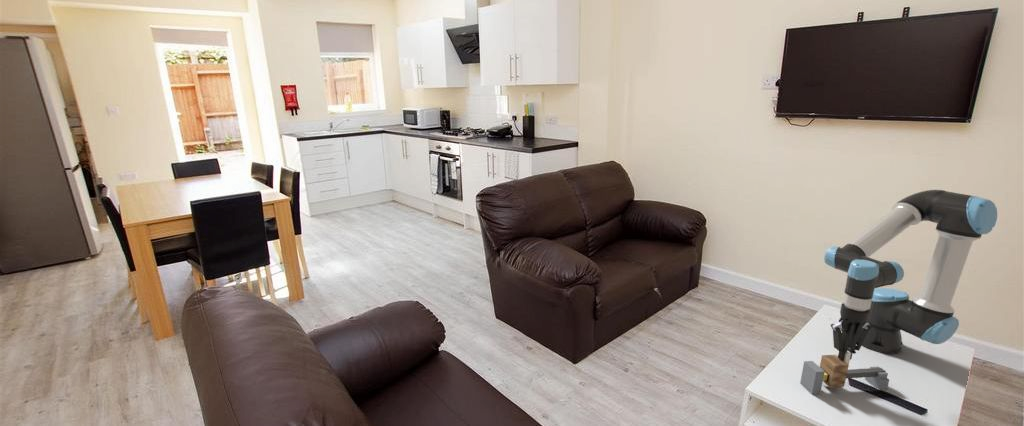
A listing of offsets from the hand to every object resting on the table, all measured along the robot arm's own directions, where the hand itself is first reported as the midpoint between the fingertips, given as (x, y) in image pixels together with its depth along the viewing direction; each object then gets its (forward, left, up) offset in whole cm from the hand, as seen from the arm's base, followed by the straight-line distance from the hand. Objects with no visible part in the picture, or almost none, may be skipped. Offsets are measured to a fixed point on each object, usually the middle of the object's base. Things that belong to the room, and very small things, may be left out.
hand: (842, 367), depth 158 cm
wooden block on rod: (+3, 0, -6) cm, 6 cm away
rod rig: (-2, 0, -8) cm, 8 cm away
